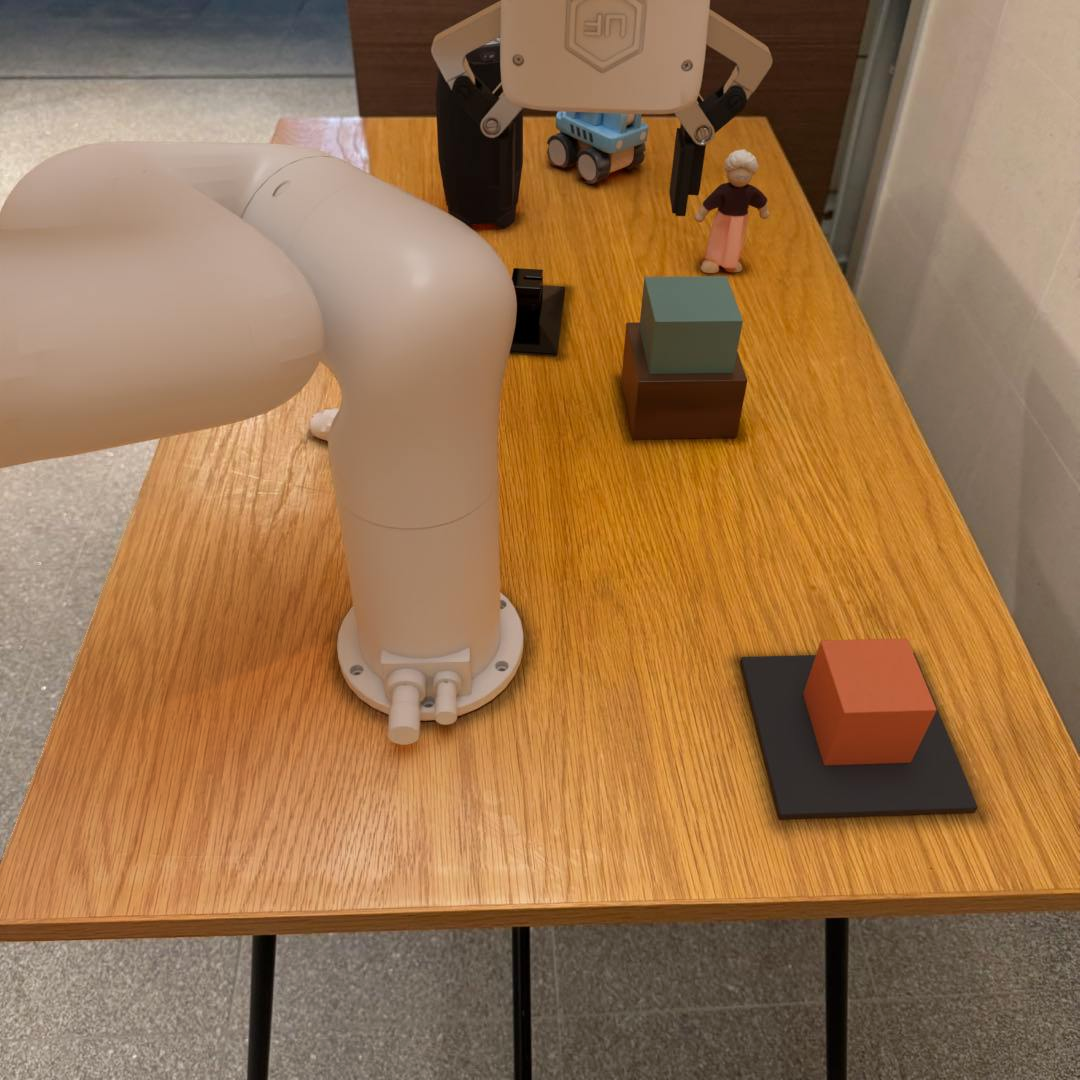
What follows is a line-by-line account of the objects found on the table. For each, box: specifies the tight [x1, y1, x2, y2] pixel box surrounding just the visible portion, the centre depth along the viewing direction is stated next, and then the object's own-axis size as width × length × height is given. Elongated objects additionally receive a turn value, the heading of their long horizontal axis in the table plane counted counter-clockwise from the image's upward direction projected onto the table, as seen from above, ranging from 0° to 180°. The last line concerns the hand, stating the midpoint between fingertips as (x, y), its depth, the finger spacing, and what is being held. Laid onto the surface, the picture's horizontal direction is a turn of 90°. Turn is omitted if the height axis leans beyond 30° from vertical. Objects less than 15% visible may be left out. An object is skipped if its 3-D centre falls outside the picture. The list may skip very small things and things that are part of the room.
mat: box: [739, 651, 979, 820], centre depth 64 cm, size 12×12×1 cm
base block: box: [620, 321, 748, 440], centre depth 87 cm, size 9×9×6 cm
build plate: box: [509, 267, 566, 357], centre depth 97 cm, size 12×7×5 cm, turn 175°
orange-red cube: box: [803, 637, 937, 765], centre depth 62 cm, size 6×6×6 cm
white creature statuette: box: [309, 407, 340, 442], centre depth 82 cm, size 10×9×12 cm
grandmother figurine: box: [694, 148, 771, 274], centre depth 103 cm, size 8×4×13 cm, turn 106°
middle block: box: [639, 275, 744, 374], centre depth 83 cm, size 7×7×5 cm
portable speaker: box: [435, 26, 524, 229], centre depth 108 cm, size 9×9×20 cm
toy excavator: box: [546, 111, 650, 185], centre depth 117 cm, size 9×17×17 cm, turn 42°
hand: (592, 202), depth 56 cm, fingers open, 9 cm apart
